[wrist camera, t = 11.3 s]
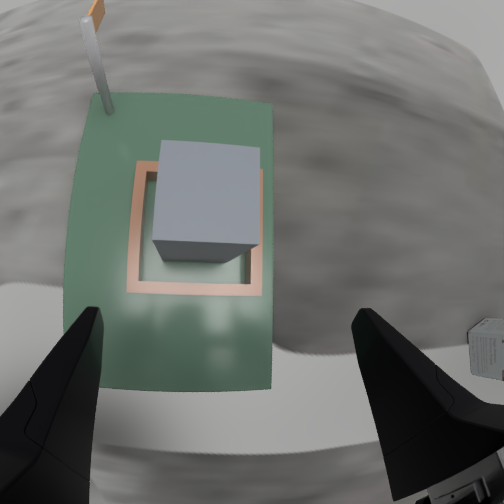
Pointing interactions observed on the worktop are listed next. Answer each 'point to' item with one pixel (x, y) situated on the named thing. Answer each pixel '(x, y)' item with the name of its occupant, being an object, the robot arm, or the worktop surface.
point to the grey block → (206, 201)
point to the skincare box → (487, 349)
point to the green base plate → (146, 255)
